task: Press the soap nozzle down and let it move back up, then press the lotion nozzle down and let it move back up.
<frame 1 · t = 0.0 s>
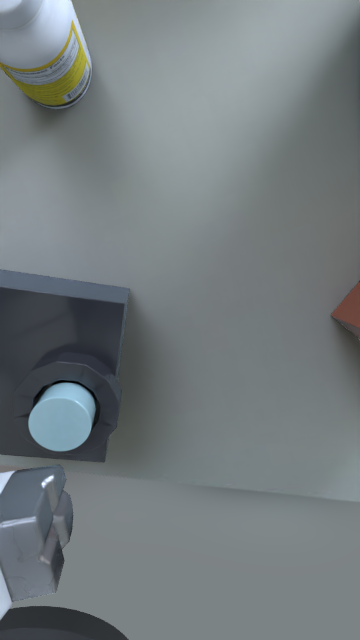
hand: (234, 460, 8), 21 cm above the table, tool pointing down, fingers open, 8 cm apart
soap nozzle: (64, 415, 20), point 9 cm above the table, slide at 0.1 cm
supplement bottle: (53, 69, 23), on the table
soap dispenser: (55, 348, 28), on the table
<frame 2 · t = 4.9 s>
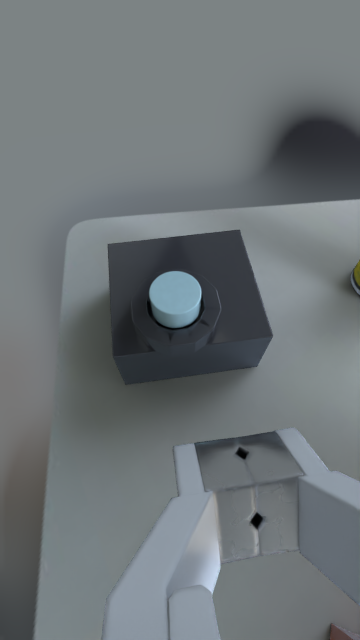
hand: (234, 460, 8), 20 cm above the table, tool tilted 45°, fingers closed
soap nozzle: (175, 299, 24), point 9 cm above the table, slide at 0.1 cm
soap dispenser: (183, 322, 33), on the table
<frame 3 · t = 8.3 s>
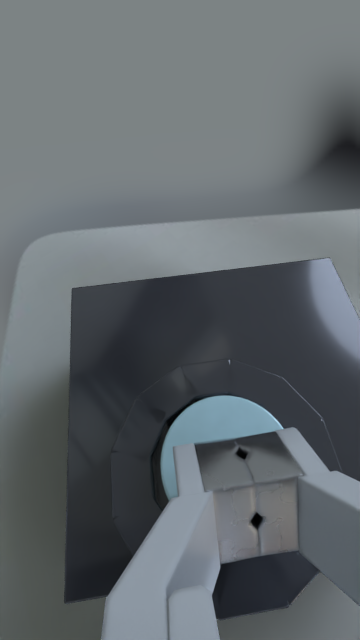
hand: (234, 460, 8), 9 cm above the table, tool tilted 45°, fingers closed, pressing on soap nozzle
soap nozzle: (224, 466, 10), point 8 cm above the table, slide at -0.7 cm, touching gripper
soap dispenser: (216, 424, 18), on the table
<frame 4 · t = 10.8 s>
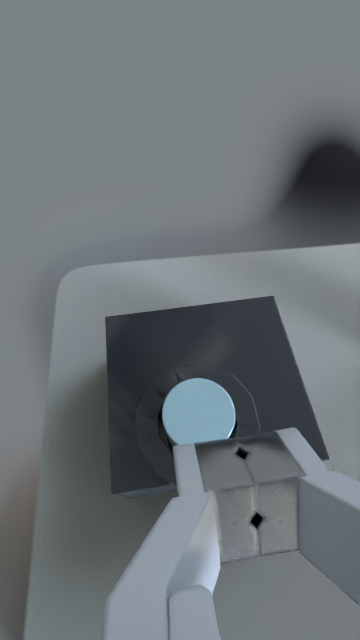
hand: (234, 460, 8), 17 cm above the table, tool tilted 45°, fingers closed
soap nozzle: (197, 417, 17), point 9 cm above the table, slide at 0.1 cm
soap dispenser: (200, 407, 26), on the table
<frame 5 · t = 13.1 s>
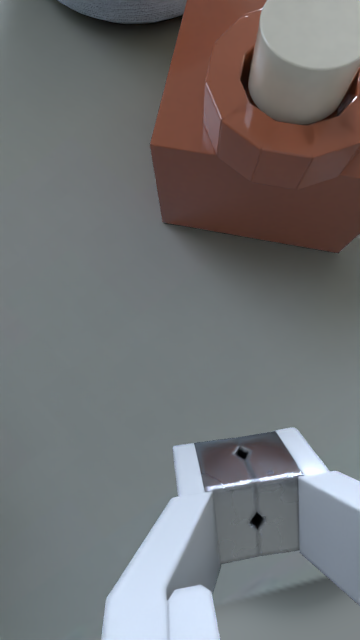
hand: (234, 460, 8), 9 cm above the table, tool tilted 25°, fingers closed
lotion dispenser: (262, 161, 20), on the table
lotion nozzle: (306, 55, 11), point 9 cm above the table, slide at 0.1 cm
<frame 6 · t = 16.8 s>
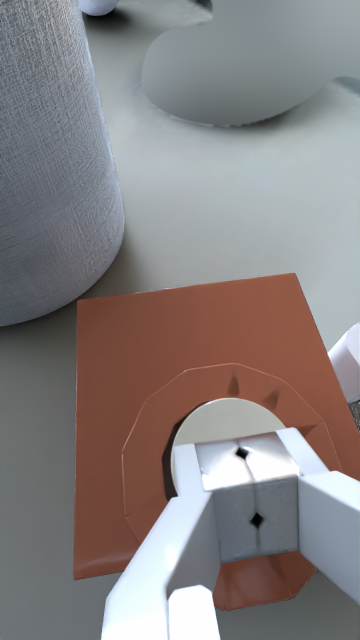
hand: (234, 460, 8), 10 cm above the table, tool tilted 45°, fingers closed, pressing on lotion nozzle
planter: (22, 243, 25), on the table
perfume bottle: (106, 13, 47), on the table
lotion dispenser: (201, 428, 18), on the table
lotion nozzle: (230, 465, 10), point 8 cm above the table, slide at -0.5 cm, touching gripper
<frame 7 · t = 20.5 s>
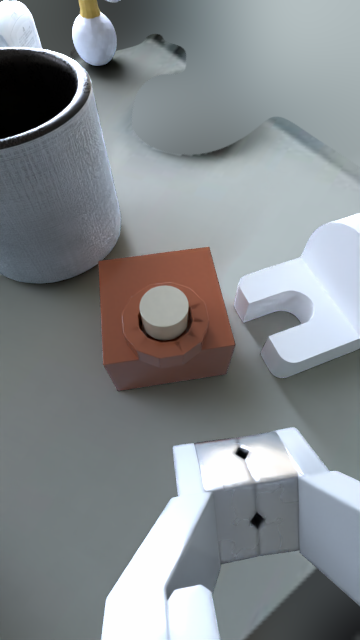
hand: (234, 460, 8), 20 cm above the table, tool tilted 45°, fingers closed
tape dispenser: (329, 310, 34), on the table
planter: (56, 235, 40), on the table
perfume bottle: (105, 62, 61), on the table
white rounded upright piece: (37, 108, 54), on the table
lotion dispenser: (165, 334, 33), on the table
lotion nozzle: (164, 313, 24), point 9 cm above the table, slide at 0.1 cm
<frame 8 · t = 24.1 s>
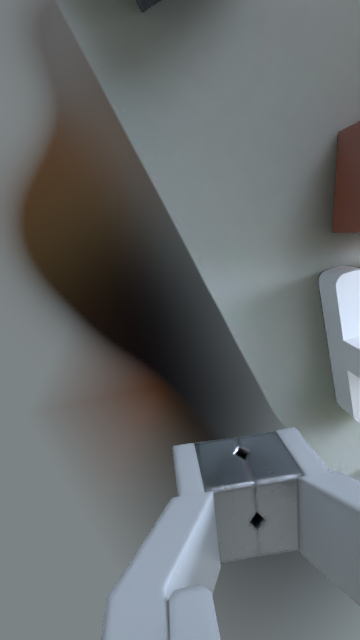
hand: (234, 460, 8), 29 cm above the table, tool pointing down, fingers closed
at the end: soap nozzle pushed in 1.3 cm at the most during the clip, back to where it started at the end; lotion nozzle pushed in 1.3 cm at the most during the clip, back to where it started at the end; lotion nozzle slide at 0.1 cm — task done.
